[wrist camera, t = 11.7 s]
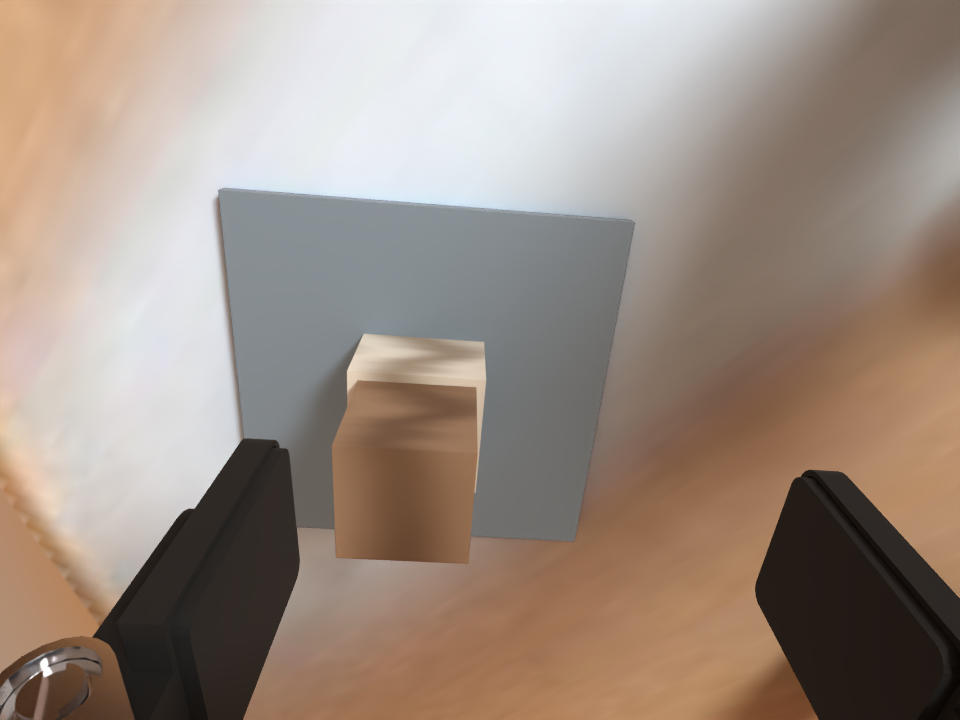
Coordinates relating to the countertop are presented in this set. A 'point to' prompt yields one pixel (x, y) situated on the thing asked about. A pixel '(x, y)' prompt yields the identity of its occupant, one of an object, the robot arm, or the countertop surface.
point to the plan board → (428, 334)
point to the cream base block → (421, 365)
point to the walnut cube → (405, 472)
